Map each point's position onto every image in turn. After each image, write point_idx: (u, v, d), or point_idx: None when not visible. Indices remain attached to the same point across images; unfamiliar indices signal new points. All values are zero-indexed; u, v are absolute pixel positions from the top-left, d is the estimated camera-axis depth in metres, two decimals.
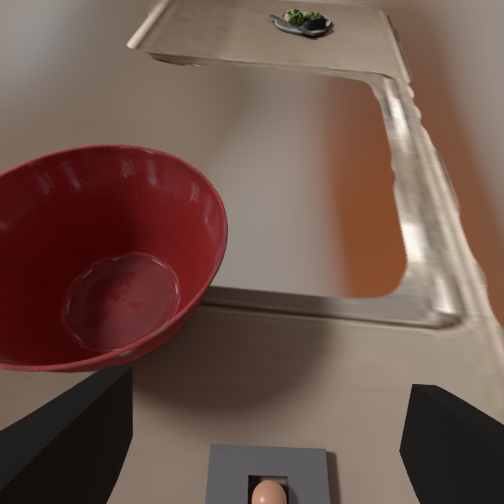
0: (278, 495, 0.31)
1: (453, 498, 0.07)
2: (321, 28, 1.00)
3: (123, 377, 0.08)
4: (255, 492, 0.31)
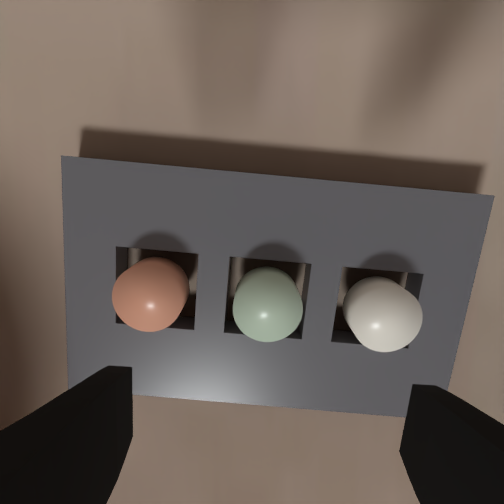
0: (138, 281, 0.15)
1: (453, 498, 0.07)
2: None
3: (123, 377, 0.08)
4: (133, 325, 0.15)
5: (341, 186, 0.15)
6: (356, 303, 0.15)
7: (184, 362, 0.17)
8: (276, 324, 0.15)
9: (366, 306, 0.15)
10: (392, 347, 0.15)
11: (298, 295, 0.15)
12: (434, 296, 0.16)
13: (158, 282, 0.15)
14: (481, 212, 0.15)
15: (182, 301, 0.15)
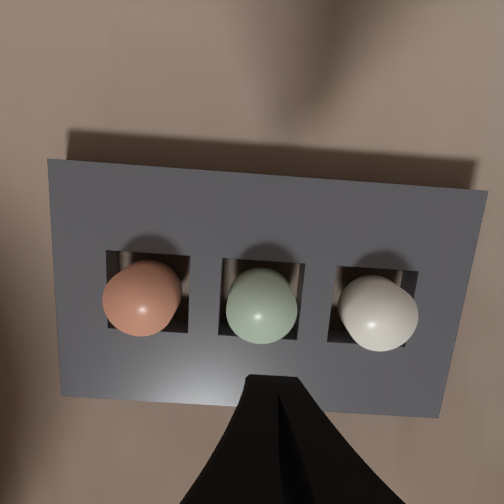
0: (128, 285, 0.14)
1: None
2: None
3: (275, 386, 0.08)
4: (125, 330, 0.15)
5: (333, 184, 0.15)
6: (351, 302, 0.15)
7: (178, 366, 0.17)
8: (270, 326, 0.15)
9: (361, 305, 0.15)
10: (388, 346, 0.15)
11: (292, 296, 0.15)
12: (429, 293, 0.16)
13: (149, 286, 0.14)
14: (475, 208, 0.15)
15: (174, 304, 0.15)
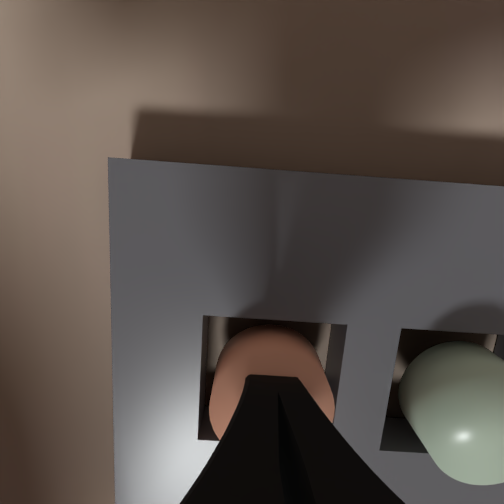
0: None
1: None
2: None
3: (275, 386, 0.08)
4: None
5: None
6: None
7: None
8: None
9: None
10: None
11: None
12: None
13: None
14: None
15: (332, 412, 0.09)
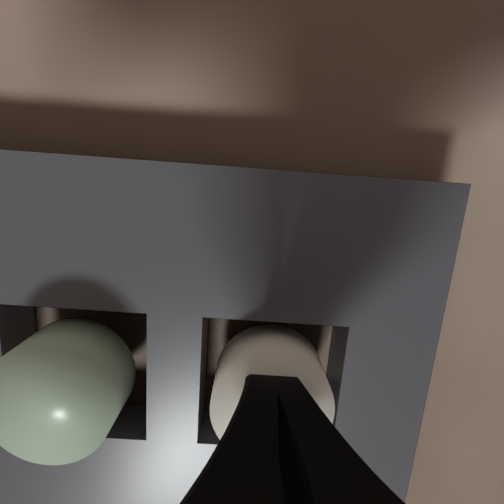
0: None
1: None
2: None
3: (275, 386, 0.08)
4: None
5: (183, 172, 0.08)
6: (216, 382, 0.08)
7: None
8: (65, 434, 0.08)
9: (232, 388, 0.08)
10: None
11: (99, 382, 0.08)
12: (369, 364, 0.09)
13: None
14: (447, 215, 0.08)
15: None
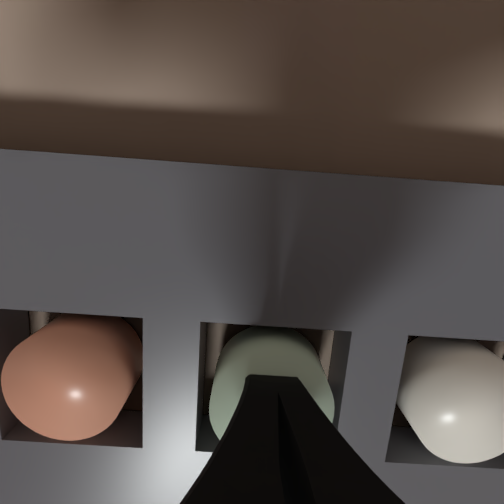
0: (44, 360, 0.08)
1: None
2: None
3: (275, 386, 0.08)
4: (42, 430, 0.09)
5: (410, 188, 0.08)
6: (421, 386, 0.09)
7: (128, 500, 0.10)
8: None
9: (439, 392, 0.09)
10: (480, 455, 0.09)
11: (326, 385, 0.08)
12: None
13: (80, 360, 0.09)
14: None
15: (124, 389, 0.09)
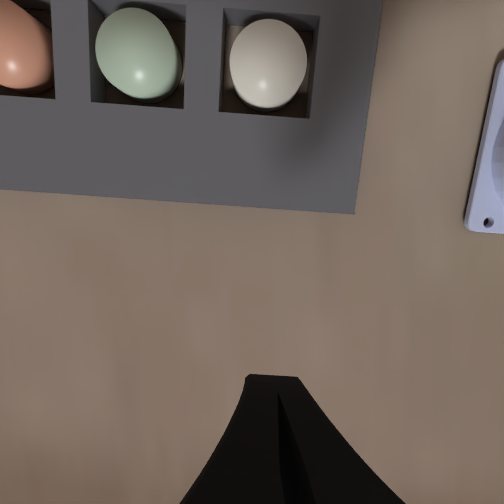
0: None
1: None
2: None
3: (275, 386, 0.08)
4: None
5: None
6: (233, 44, 0.14)
7: (48, 143, 0.15)
8: (146, 70, 0.14)
9: (243, 45, 0.13)
10: (276, 97, 0.14)
11: (167, 33, 0.13)
12: (334, 46, 0.14)
13: (9, 18, 0.13)
14: None
15: (39, 45, 0.14)
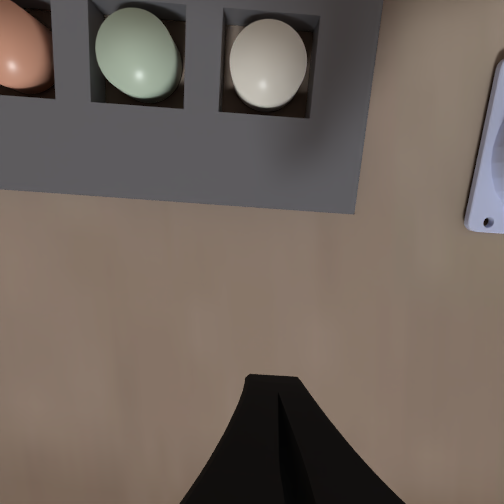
0: None
1: None
2: None
3: (275, 386, 0.08)
4: None
5: None
6: (233, 44, 0.14)
7: (48, 143, 0.15)
8: (146, 70, 0.14)
9: (243, 44, 0.13)
10: (276, 97, 0.14)
11: (167, 33, 0.13)
12: (334, 46, 0.14)
13: (9, 18, 0.13)
14: None
15: (39, 45, 0.14)
